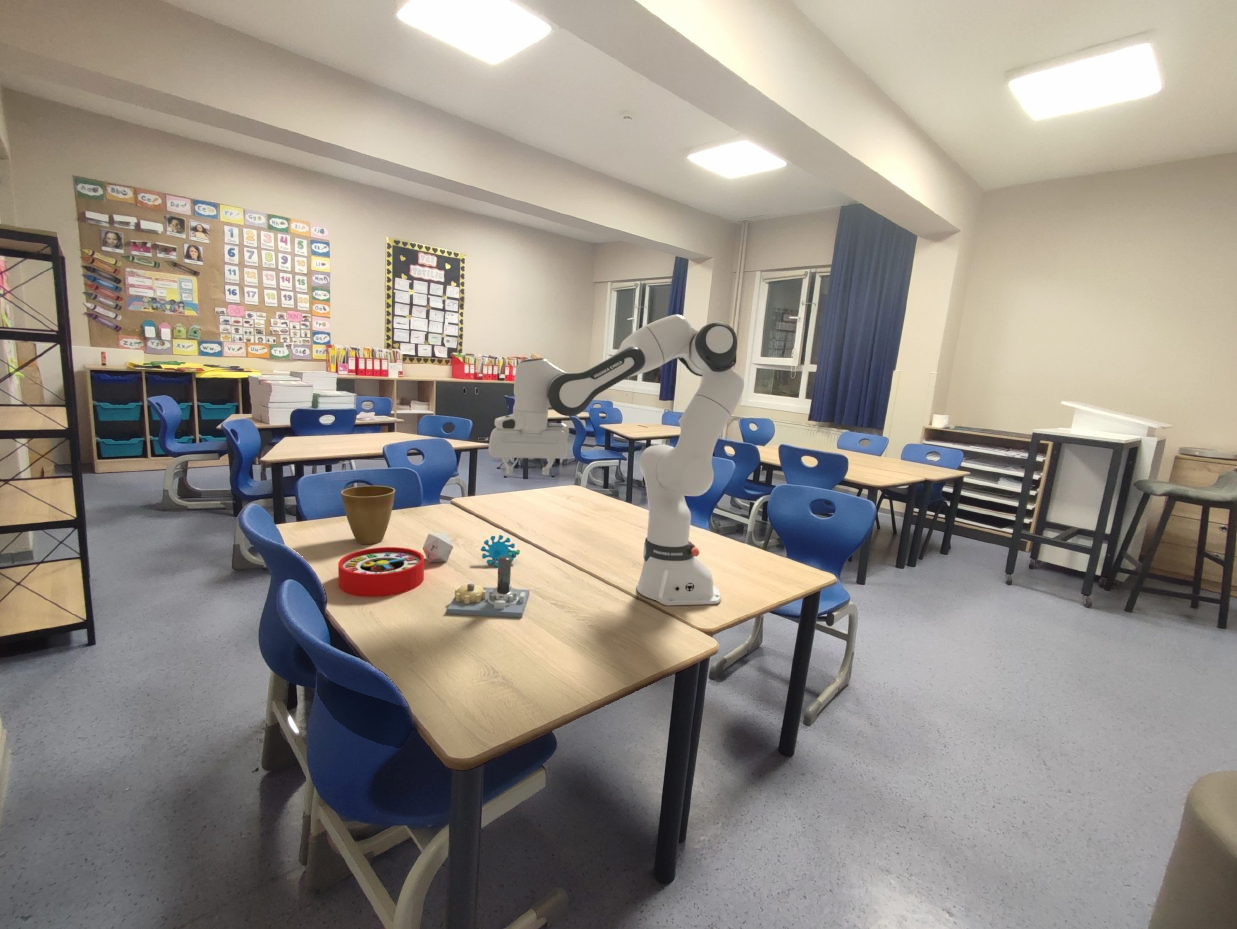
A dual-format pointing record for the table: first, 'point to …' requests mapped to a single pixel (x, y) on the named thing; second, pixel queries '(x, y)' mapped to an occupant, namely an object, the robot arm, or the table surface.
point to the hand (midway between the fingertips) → (527, 474)
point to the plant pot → (368, 511)
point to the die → (437, 547)
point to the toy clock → (380, 571)
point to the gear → (503, 582)
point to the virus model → (498, 550)
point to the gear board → (486, 602)
